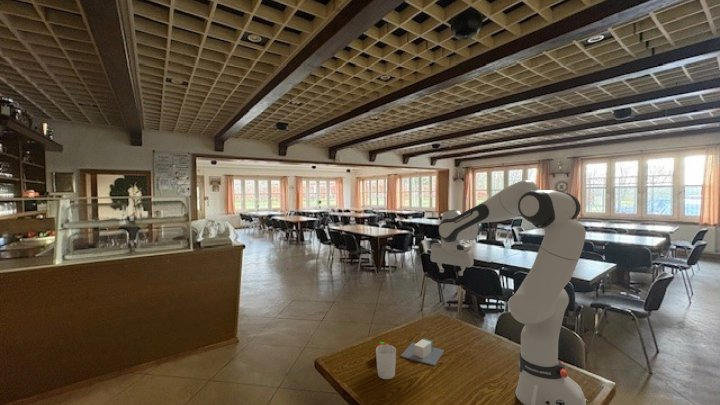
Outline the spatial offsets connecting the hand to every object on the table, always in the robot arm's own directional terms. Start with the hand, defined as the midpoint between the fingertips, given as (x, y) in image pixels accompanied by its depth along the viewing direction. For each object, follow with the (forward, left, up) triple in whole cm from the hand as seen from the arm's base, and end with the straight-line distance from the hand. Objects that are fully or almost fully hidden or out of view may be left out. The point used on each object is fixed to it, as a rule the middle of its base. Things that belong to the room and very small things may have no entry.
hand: (451, 273), depth 147 cm
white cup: (+16, +38, -33) cm, 53 cm away
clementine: (+22, +28, -33) cm, 49 cm away
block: (+9, +20, -30) cm, 37 cm away
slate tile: (+9, +16, -33) cm, 38 cm away
